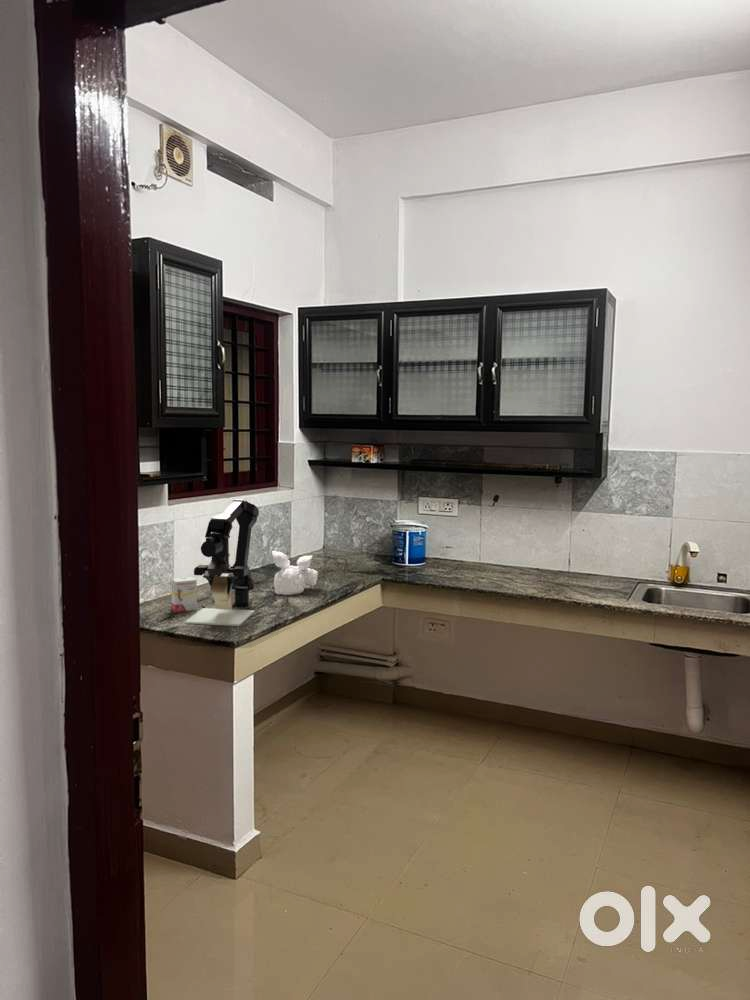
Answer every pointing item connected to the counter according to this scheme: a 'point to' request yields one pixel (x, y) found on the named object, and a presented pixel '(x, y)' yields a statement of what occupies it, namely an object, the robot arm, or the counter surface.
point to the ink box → (184, 594)
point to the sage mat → (220, 617)
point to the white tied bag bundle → (292, 574)
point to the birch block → (222, 593)
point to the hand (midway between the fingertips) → (221, 593)
